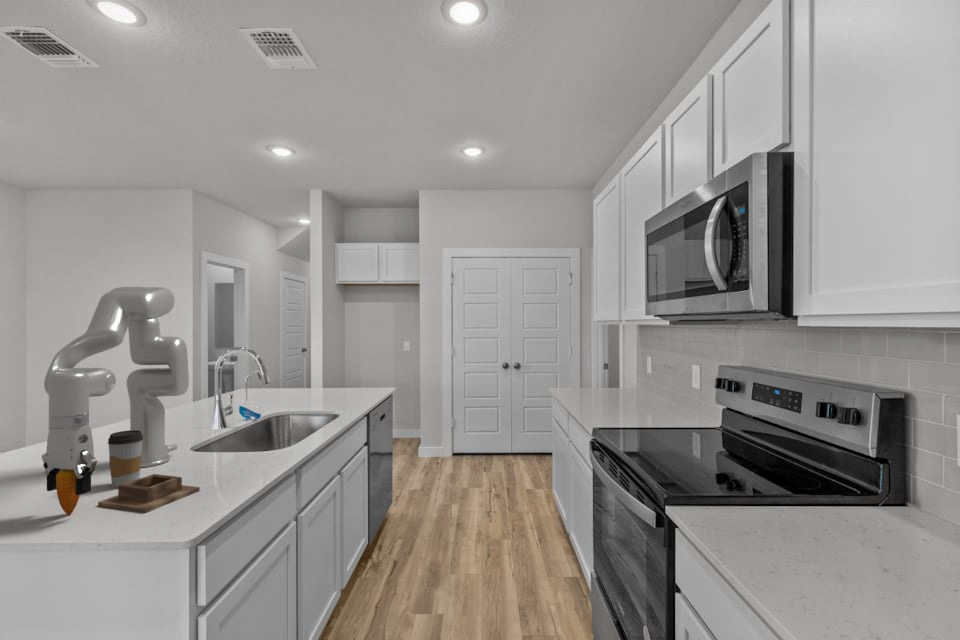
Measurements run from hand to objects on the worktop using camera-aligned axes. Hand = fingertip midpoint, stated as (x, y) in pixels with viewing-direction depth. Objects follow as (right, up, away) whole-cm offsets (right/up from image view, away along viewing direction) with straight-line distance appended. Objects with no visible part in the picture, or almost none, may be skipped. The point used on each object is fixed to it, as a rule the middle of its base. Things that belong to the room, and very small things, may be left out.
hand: (68, 491), depth 117 cm
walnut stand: (+12, -6, +11) cm, 18 cm away
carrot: (0, -6, 0) cm, 6 cm away
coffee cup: (-2, -6, +22) cm, 23 cm away
